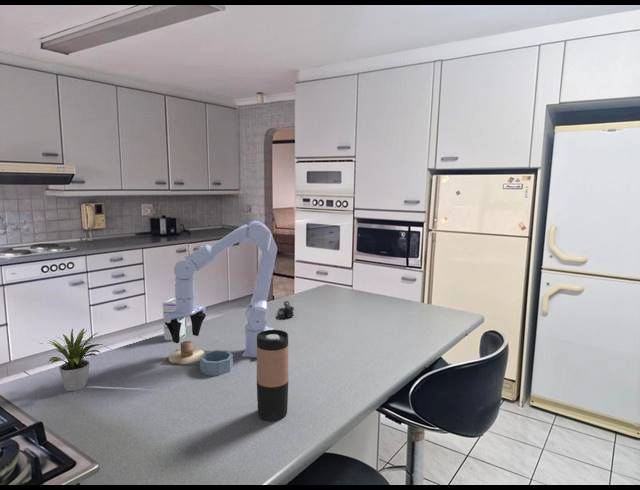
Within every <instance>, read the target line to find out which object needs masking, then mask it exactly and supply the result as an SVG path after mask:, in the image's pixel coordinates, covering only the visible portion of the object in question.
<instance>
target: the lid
mask: <svg viewBox="0 0 640 490" xmlns="http://www.w3.org/2000/svg"><path fill="white" fill-rule="evenodd" d="M177 350H178V351H175V352H174V351H173V352H171V353H170V354H168V357H169V362H171V363H173V364H177V365H187V364H193V363H196V362H199V361H200V357H201V356H202V355H203V354H204V351H205V350H201V349H200V348H194V346H193V341H192V340H191V341H190V340H185V341H182V342H180V349H177Z"/></svg>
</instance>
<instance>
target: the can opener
mask: <svg viewBox="0 0 640 490" xmlns="http://www.w3.org/2000/svg"><path fill="white" fill-rule="evenodd" d="M283 305H284V310H282V311H279V312H278V317H279V319H283V318H288V317H289V318H291V317H294V310H295V307H294V306H292V305H291V304H290V301H288V300H285V301H284V302H283ZM290 305H291V306H290Z"/></svg>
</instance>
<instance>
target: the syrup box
mask: <svg viewBox="0 0 640 490" xmlns="http://www.w3.org/2000/svg"><path fill="white" fill-rule="evenodd" d="M175 309H176V298H175V297H174V298H170V299H167V300H166V301H163V302H162V317H163V334H164V335H163V337H164V340H165V341H166V340H167V341H173V339H172V336H171V333H170V331H169V329H168V327H167V326H166V324H165V322H164V316H165V315H168V314H170V313H172V312H174V311H175ZM177 321H178V322H180V323H182V324H181V327H180V341H181V340H182V339H184V338H186V337H187V334H188V333H187V317H184V318H180V319H177Z"/></svg>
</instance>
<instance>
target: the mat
mask: <svg viewBox="0 0 640 490" xmlns="http://www.w3.org/2000/svg"><path fill="white" fill-rule="evenodd" d="M178 350H179V349H176V350H175V351H178ZM175 351H173V352H175ZM203 351H204V353H207V352H210V351H211V350H203ZM159 365H160V366H178V367H179V366H180V367H197V368H198V367H199V368H200V361H199V362H196V363H193V364H187V365H177V364H173V363H171V362H169V356H168V357H166V358H165V360H163V361H162V362H161V363H160V364H159Z"/></svg>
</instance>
